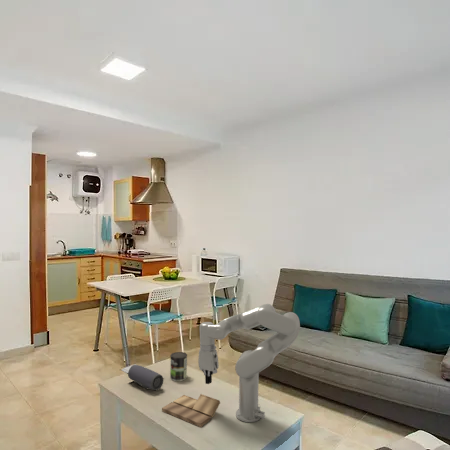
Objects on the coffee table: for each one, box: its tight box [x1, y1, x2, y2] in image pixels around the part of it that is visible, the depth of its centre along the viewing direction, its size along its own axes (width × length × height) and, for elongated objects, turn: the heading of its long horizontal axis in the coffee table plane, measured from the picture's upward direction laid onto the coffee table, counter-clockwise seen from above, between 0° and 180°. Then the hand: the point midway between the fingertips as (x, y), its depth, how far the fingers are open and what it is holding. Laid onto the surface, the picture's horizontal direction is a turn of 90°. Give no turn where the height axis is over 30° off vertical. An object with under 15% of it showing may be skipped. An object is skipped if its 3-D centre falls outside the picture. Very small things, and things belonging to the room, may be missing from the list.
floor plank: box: [161, 401, 212, 428], centre depth 173 cm, size 25×8×2 cm, turn 56°
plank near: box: [192, 393, 221, 419], centre depth 176 cm, size 12×8×2 cm
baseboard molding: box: [119, 363, 165, 380], centre depth 220 cm, size 31×3×12 cm
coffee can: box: [169, 351, 188, 382], centre depth 217 cm, size 10×10×14 cm
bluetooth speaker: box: [127, 364, 164, 391], centre depth 205 cm, size 23×9×10 cm, turn 51°
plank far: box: [173, 394, 198, 411], centre depth 184 cm, size 12×8×2 cm
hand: (208, 382), depth 179 cm, fingers closed
